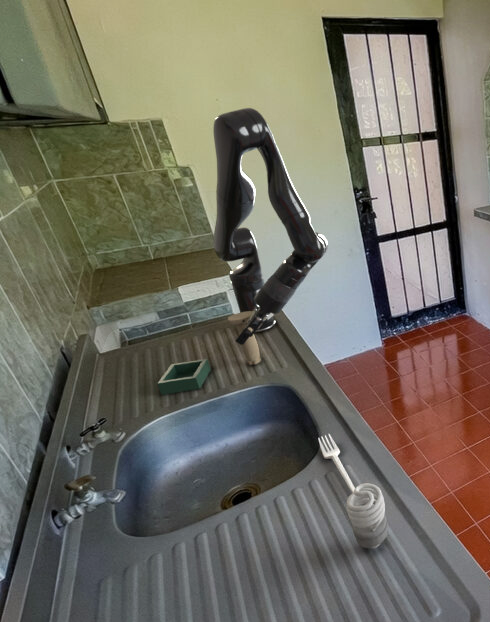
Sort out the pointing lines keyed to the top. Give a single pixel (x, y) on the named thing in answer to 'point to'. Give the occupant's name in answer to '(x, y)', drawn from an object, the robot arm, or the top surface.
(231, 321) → the handle
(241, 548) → the top surface
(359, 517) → the light bulb
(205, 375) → the socket
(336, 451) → the fork
